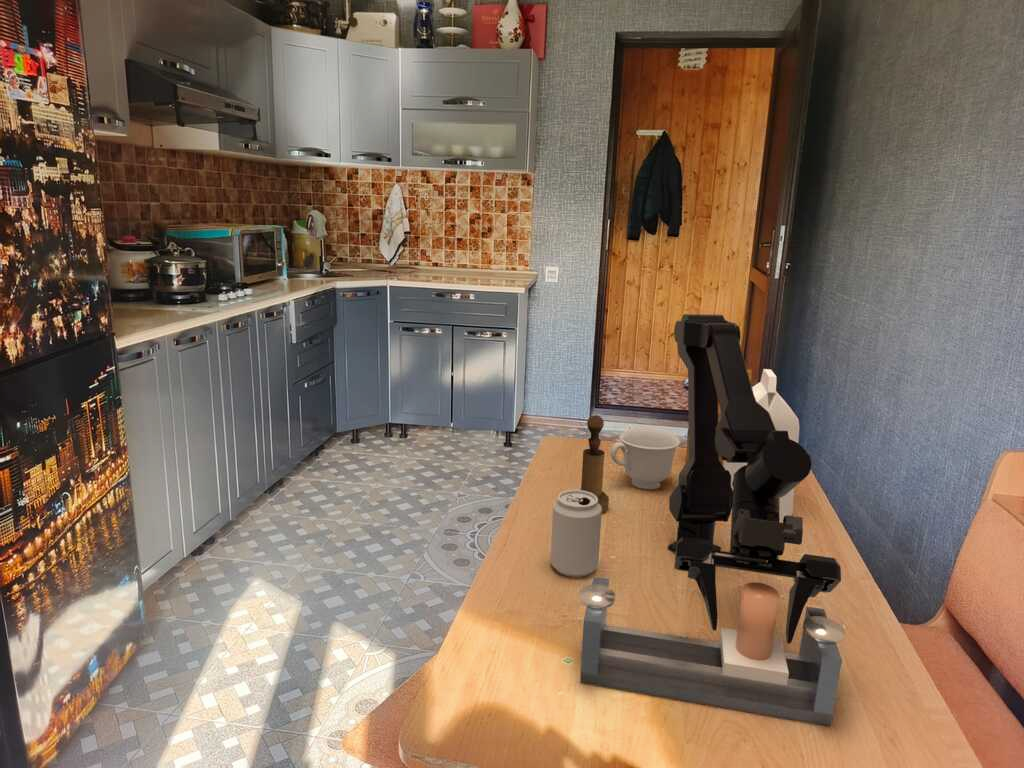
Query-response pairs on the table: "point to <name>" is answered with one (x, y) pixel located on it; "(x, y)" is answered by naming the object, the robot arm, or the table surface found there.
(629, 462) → the teacup
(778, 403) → the milk
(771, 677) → the carriage
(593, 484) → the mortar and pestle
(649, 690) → the rail
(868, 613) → the table surface
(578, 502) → the can
